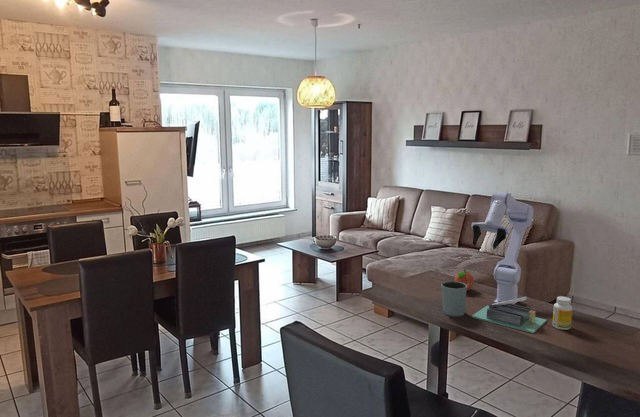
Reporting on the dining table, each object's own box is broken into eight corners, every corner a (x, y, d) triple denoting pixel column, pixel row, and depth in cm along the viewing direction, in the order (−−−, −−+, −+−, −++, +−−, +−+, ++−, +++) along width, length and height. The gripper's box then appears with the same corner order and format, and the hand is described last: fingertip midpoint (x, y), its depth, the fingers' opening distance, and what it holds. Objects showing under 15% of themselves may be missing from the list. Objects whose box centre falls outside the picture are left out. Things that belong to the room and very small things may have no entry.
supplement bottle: (548, 325, 186) (550, 297, 184) (559, 322, 188) (561, 294, 186) (563, 331, 180) (565, 302, 178) (574, 328, 183) (576, 299, 181)
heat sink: (496, 309, 201) (497, 298, 200) (538, 319, 190) (539, 307, 189) (484, 317, 192) (485, 306, 191) (528, 328, 181) (528, 316, 180)
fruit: (449, 288, 229) (450, 268, 227) (465, 285, 233) (466, 265, 231) (462, 294, 221) (463, 273, 219) (478, 290, 225) (479, 270, 224)
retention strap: (490, 307, 195) (490, 305, 195) (493, 305, 197) (492, 303, 197) (524, 300, 185) (524, 298, 185) (527, 298, 187) (526, 296, 187)
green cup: (467, 318, 194) (468, 289, 192) (441, 316, 196) (441, 288, 194) (464, 308, 204) (465, 281, 202) (440, 307, 206) (440, 280, 204)
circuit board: (487, 306, 205) (487, 305, 205) (546, 321, 190) (546, 319, 190) (471, 317, 194) (471, 315, 194) (533, 333, 179) (533, 331, 178)
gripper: (474, 209, 192) (463, 236, 186) (512, 214, 183) (501, 243, 177) (477, 219, 197) (466, 246, 191) (514, 225, 188) (504, 253, 182)
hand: (483, 245), depth 184 cm, fingers open, 7 cm apart
